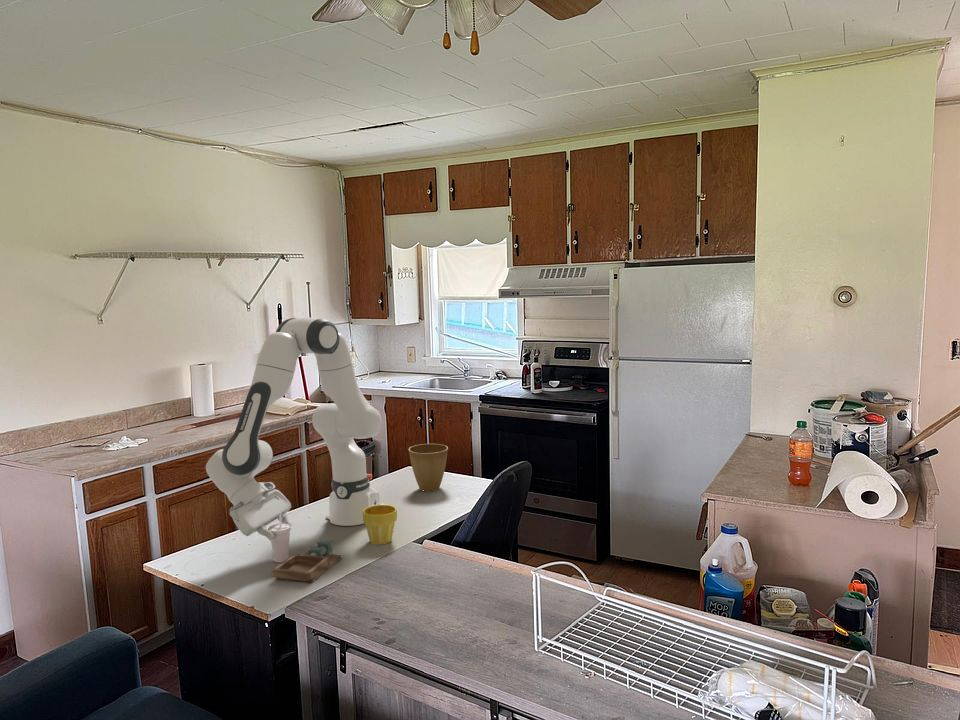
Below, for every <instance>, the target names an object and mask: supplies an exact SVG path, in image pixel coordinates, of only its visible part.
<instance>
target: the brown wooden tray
mask: <svg viewBox="0 0 960 720" xmlns="http://www.w3.org/2000/svg"><path fill="white" fill-rule="evenodd" d="M340 560H342V554H336V553H335V554H334V553H333V543H332V541H331V540H319V541H318V542H317V543H316V547H315V546H311V547H310V548H308V549H307V552H305V553H304V554H297V553H293V555H291V556H290V557H288V559H287V560H285V561H284V562H280V563H279V564H278V566H276V567H275V568H273V569H272V570H271V573H272V575H271V576H272V578H276V579H277V580H278V579H279V580H288V581H289V580H290V581H296V582H297V581H298V582H307V583H313V582H315V581H316V580H317V579H318V578H319V577H321V576H322V575H323V574H324V573H326V572H327V571H328V570H329V569H330V568H332V567H333V566H334V565H335V564H337V562H339V561H340ZM331 566H332V567H331Z"/></svg>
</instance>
